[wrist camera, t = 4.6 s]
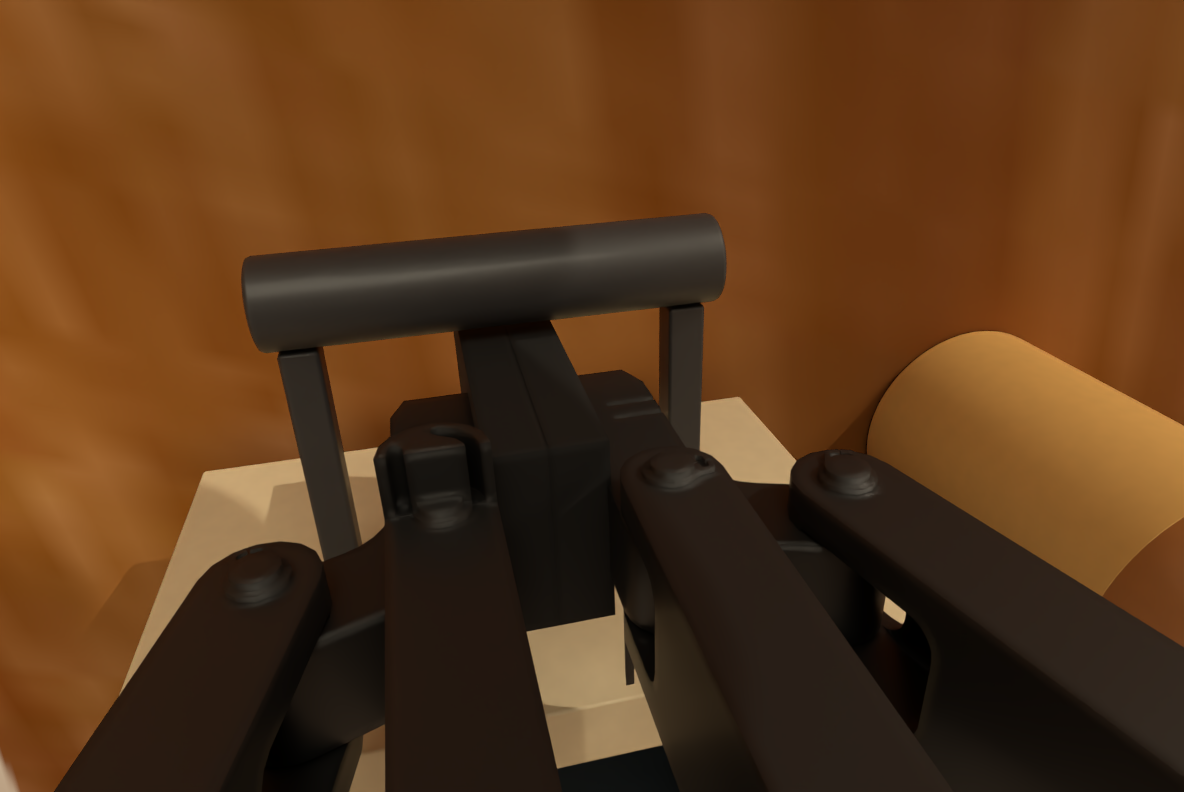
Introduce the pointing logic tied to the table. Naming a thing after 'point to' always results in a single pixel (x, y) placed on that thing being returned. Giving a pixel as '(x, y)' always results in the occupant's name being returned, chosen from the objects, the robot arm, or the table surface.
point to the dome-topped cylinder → (1047, 465)
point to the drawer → (348, 479)
